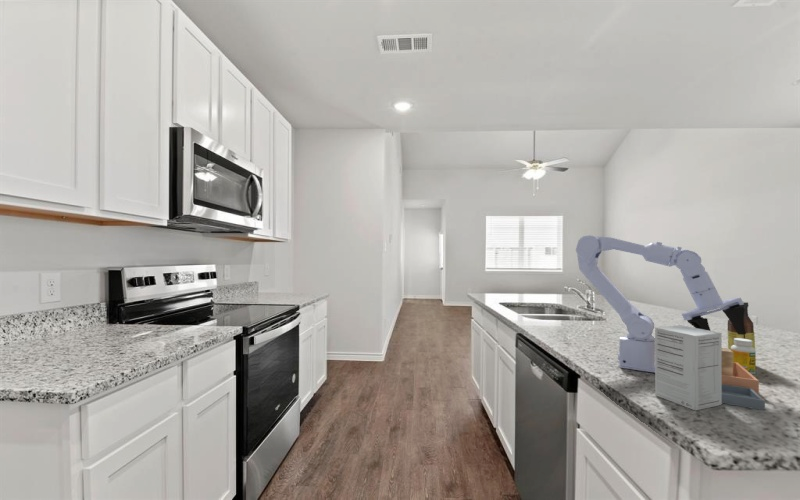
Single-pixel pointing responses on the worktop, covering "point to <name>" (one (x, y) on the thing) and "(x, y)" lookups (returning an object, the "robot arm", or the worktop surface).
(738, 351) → the supplement bottle
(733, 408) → the worktop surface
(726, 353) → the maple peg
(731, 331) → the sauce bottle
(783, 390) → the worktop surface
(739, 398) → the slate tray
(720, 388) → the supplement box
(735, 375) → the peach storage tray
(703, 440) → the worktop surface
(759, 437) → the worktop surface
